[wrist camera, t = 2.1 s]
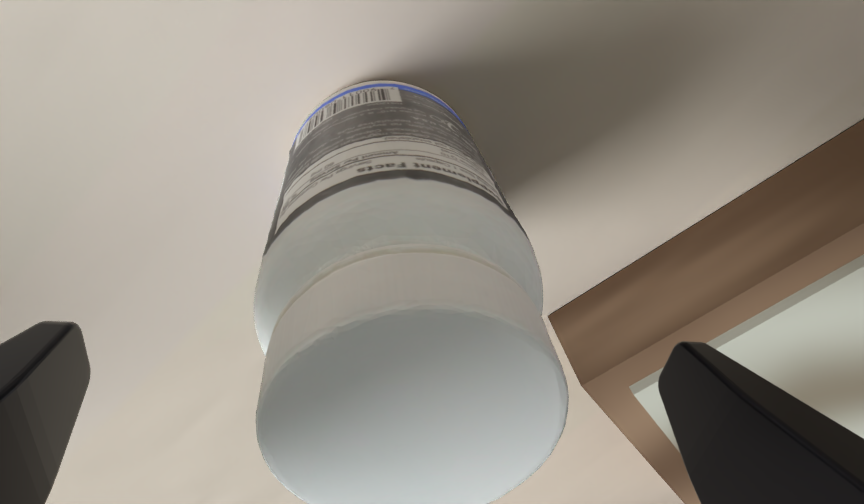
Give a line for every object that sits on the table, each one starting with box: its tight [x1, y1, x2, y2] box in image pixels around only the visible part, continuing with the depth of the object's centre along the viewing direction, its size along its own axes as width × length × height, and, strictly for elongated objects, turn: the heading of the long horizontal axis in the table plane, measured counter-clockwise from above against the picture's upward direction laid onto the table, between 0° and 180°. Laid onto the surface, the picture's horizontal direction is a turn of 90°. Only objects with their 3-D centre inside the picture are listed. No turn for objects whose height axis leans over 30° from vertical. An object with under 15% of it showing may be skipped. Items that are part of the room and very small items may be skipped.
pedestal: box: [548, 120, 864, 504], centre depth 17 cm, size 12×12×3 cm
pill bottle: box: [254, 80, 569, 504], centre depth 10 cm, size 5×5×8 cm
